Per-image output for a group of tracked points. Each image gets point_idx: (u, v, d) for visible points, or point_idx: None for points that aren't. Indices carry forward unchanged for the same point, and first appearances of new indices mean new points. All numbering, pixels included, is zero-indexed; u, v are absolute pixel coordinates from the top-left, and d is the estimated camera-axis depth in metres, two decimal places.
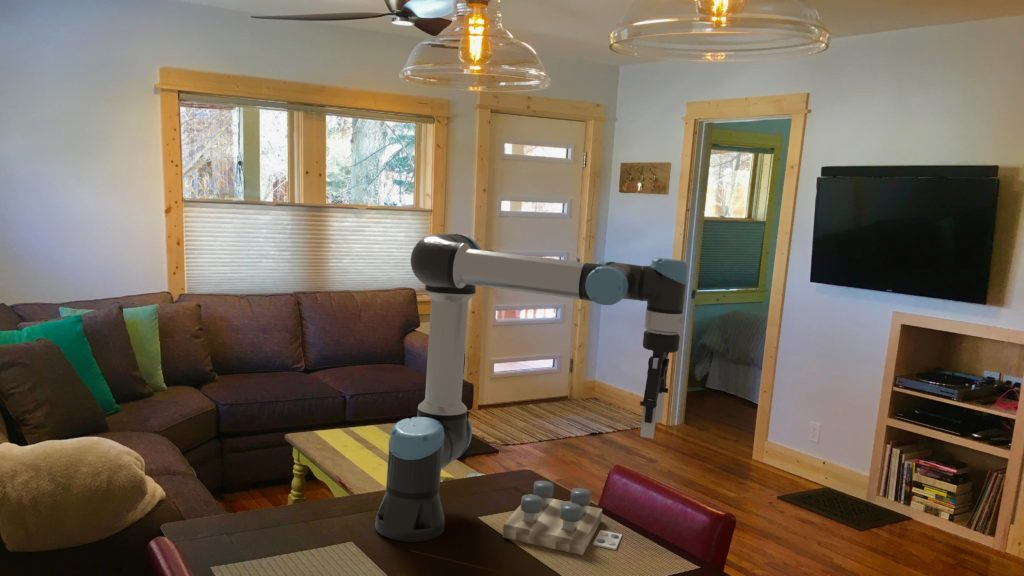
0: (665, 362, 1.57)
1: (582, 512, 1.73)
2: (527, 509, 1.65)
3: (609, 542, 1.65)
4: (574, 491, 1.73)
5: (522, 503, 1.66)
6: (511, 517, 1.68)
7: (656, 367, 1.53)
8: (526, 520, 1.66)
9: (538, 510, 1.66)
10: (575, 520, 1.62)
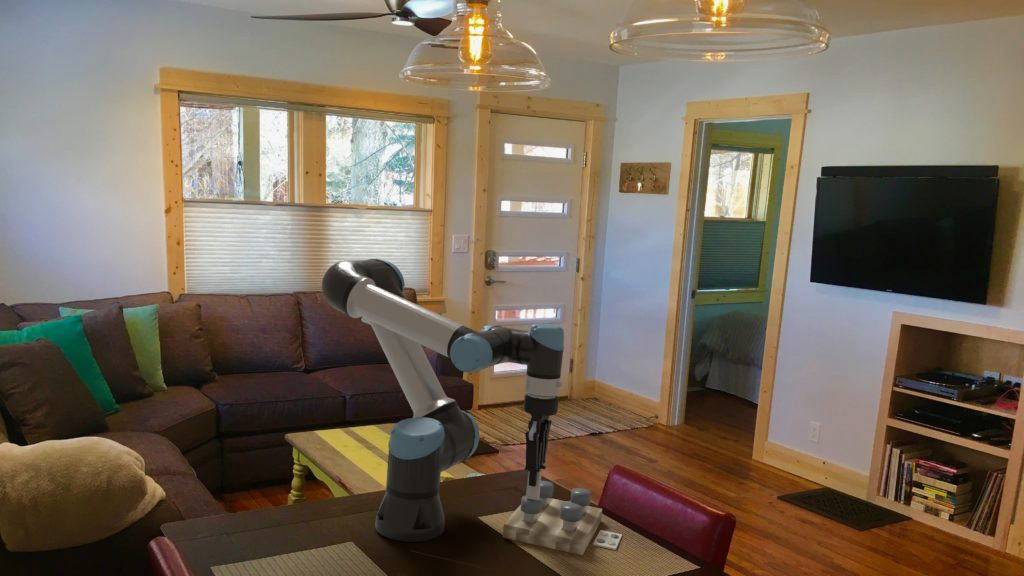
0: (543, 427, 1.63)
1: (582, 512, 1.73)
2: (527, 510, 1.65)
3: (609, 542, 1.65)
4: (574, 491, 1.73)
5: (522, 504, 1.66)
6: (511, 517, 1.68)
7: (532, 440, 1.60)
8: (526, 521, 1.66)
9: (538, 511, 1.66)
10: (575, 520, 1.62)
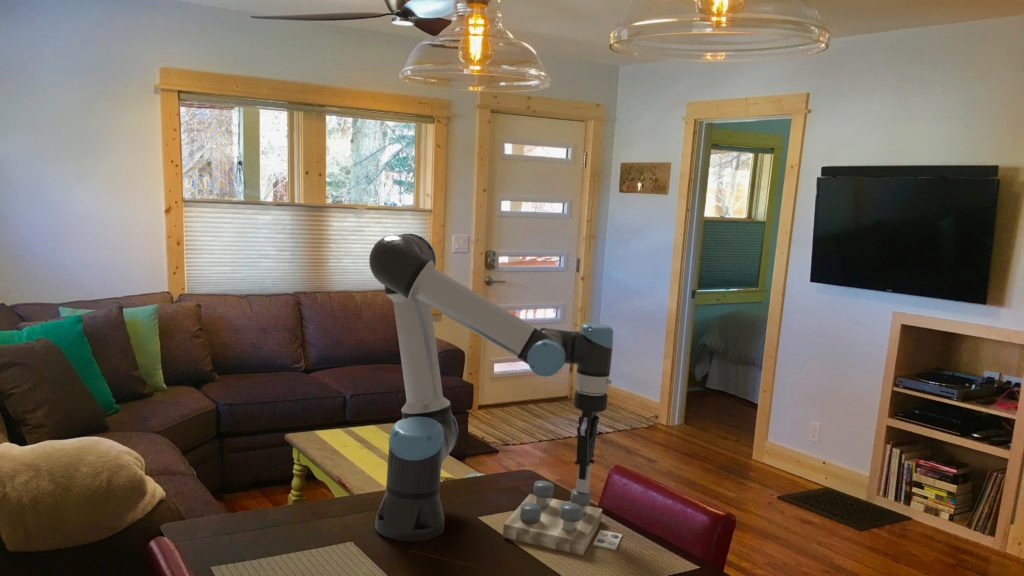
0: (593, 422, 1.70)
1: (582, 512, 1.73)
2: (526, 518, 1.65)
3: (609, 542, 1.65)
4: (574, 491, 1.74)
5: (521, 512, 1.66)
6: (511, 517, 1.68)
7: (584, 435, 1.67)
8: None
9: (537, 519, 1.66)
10: (575, 520, 1.62)
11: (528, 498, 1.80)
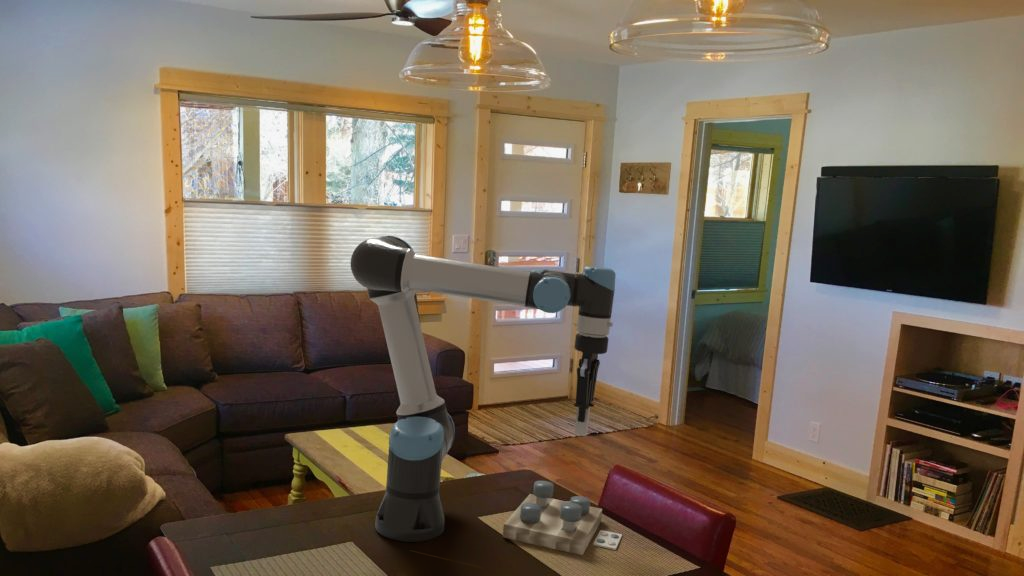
0: (594, 364, 1.70)
1: None
2: (526, 518, 1.65)
3: (609, 542, 1.65)
4: (573, 499, 1.74)
5: (521, 512, 1.66)
6: (511, 517, 1.68)
7: (584, 376, 1.67)
8: None
9: (537, 519, 1.66)
10: (575, 520, 1.62)
11: (528, 498, 1.80)
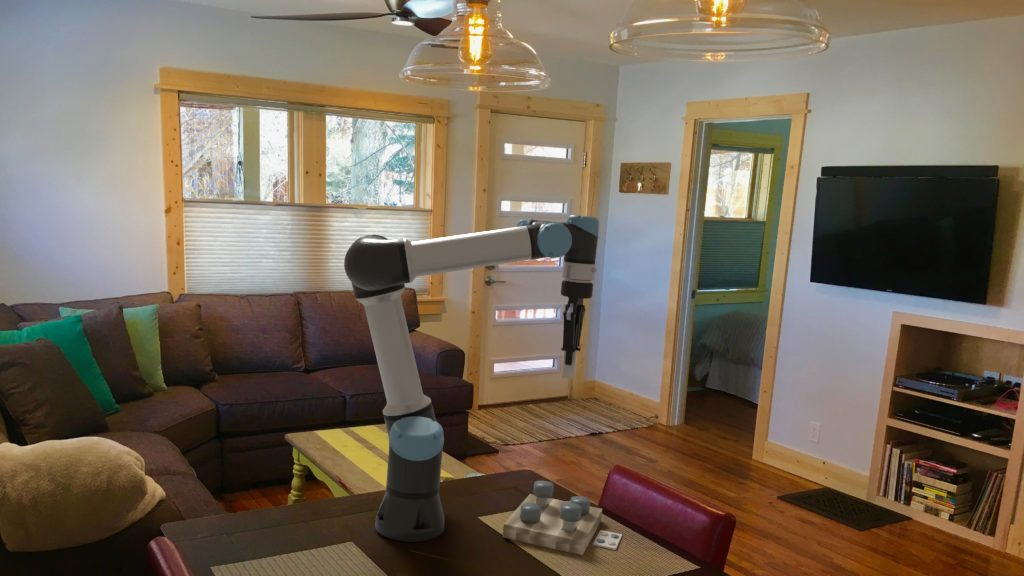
0: (579, 309, 1.77)
1: None
2: (526, 518, 1.65)
3: (609, 542, 1.65)
4: (573, 499, 1.74)
5: (521, 512, 1.66)
6: (511, 517, 1.68)
7: (570, 319, 1.74)
8: None
9: (537, 519, 1.66)
10: (575, 520, 1.62)
11: (528, 498, 1.80)
